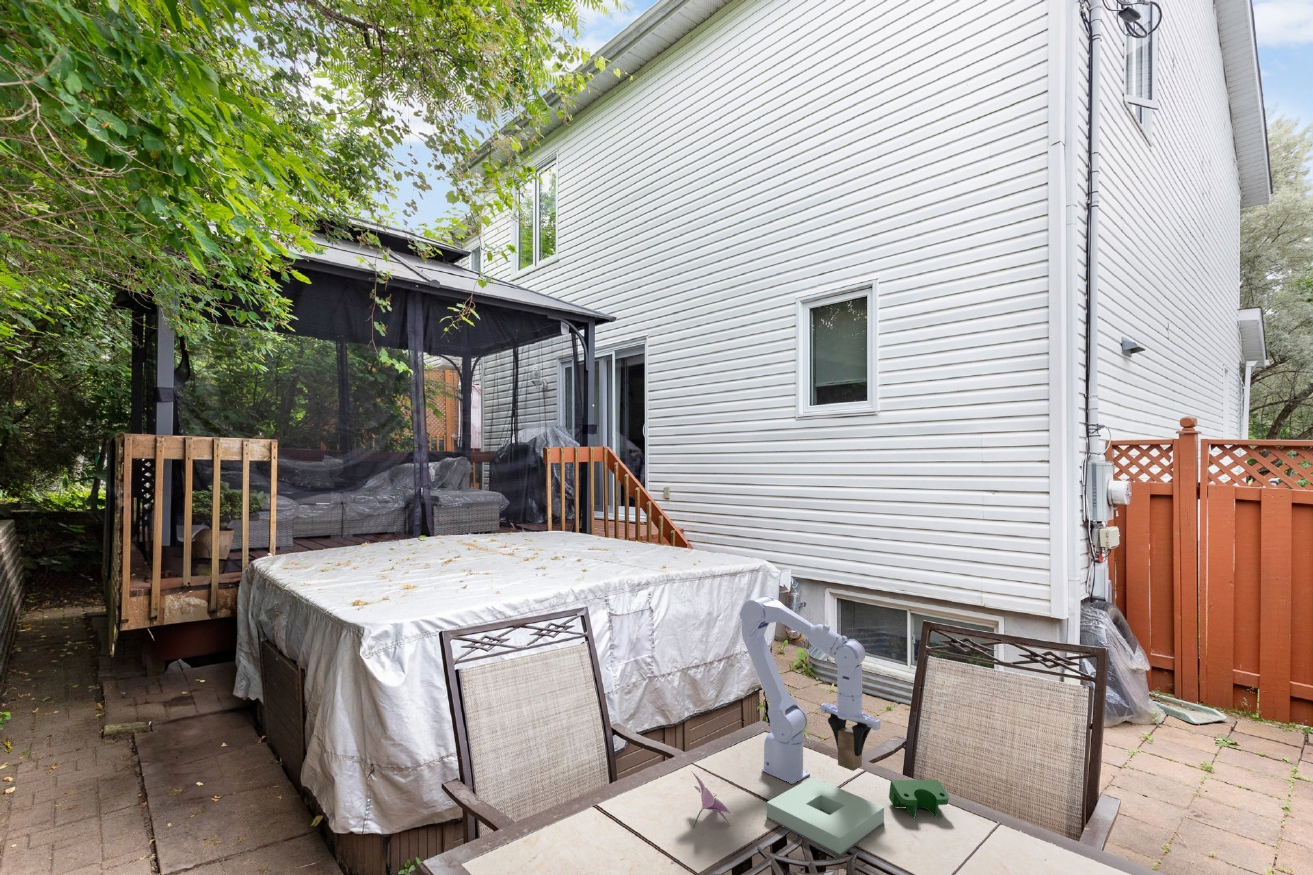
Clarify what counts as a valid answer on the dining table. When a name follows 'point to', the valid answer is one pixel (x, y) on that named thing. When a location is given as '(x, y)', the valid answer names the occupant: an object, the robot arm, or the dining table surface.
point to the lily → (710, 801)
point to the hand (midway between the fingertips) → (849, 751)
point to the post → (847, 750)
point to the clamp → (918, 795)
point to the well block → (826, 815)
